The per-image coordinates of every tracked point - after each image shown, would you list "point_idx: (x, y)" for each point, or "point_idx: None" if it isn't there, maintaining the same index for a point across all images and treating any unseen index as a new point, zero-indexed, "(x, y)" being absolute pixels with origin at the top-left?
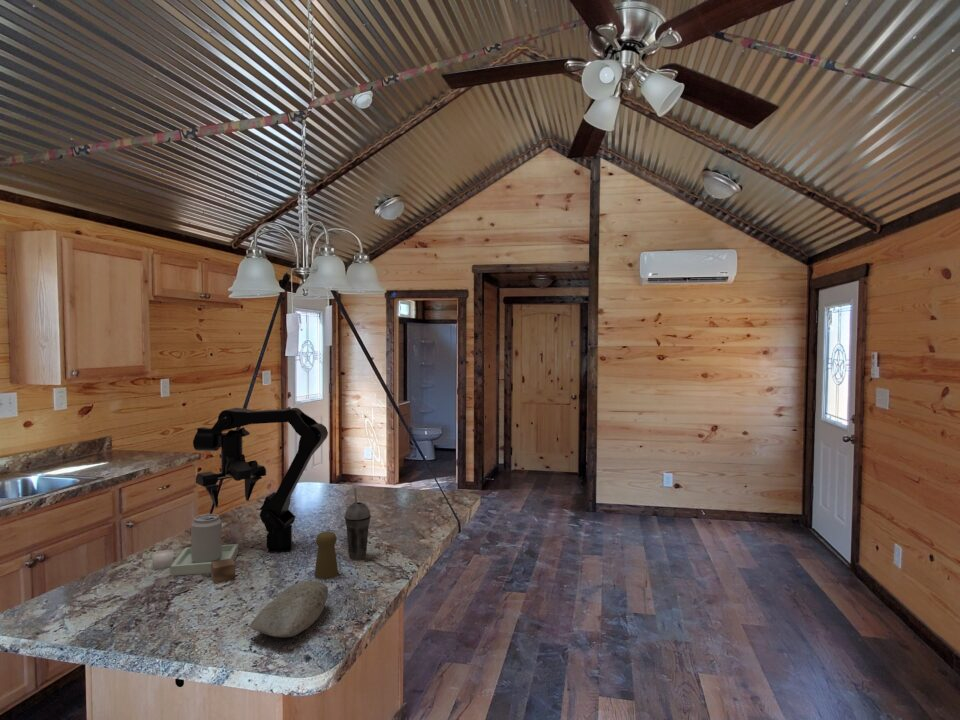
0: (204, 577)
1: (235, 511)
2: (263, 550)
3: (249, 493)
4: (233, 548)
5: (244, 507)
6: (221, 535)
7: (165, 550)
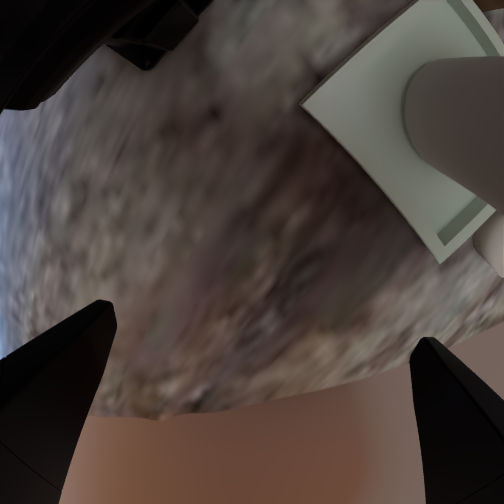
0: (496, 27)
1: (115, 415)
2: (208, 37)
3: (56, 341)
4: (356, 69)
5: (93, 415)
6: (469, 73)
7: (500, 267)
